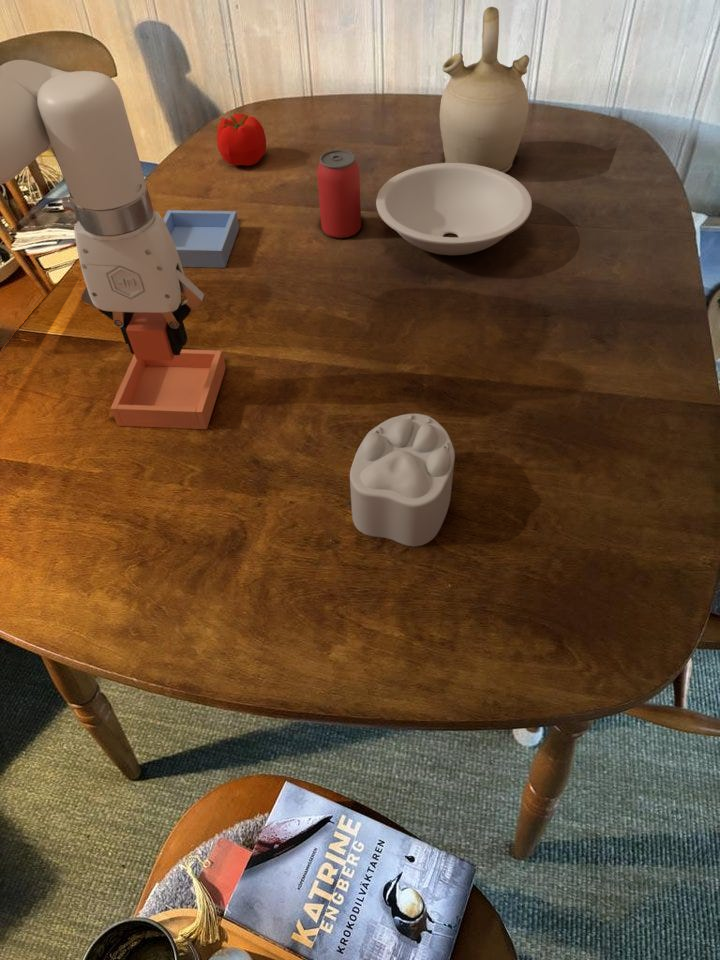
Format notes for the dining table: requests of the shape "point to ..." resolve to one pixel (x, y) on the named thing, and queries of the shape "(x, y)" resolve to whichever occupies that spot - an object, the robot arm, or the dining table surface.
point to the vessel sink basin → (453, 206)
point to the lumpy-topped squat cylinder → (403, 480)
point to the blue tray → (202, 236)
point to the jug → (484, 105)
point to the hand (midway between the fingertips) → (158, 346)
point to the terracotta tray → (170, 391)
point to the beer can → (339, 193)
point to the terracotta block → (149, 337)
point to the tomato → (241, 140)
